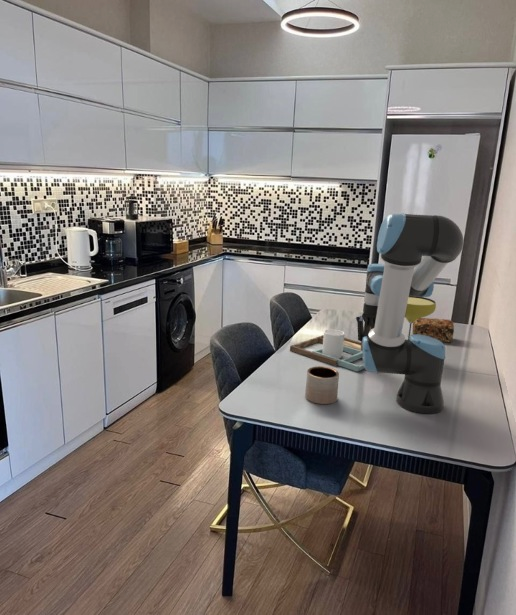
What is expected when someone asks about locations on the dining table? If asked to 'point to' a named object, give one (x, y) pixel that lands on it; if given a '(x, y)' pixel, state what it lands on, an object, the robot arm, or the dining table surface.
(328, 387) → the planter
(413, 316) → the cocktail glass
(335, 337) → the mug
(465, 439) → the dining table surface
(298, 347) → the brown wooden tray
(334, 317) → the dining table surface
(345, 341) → the light wood drawer
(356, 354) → the teal divided frame
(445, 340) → the bread
